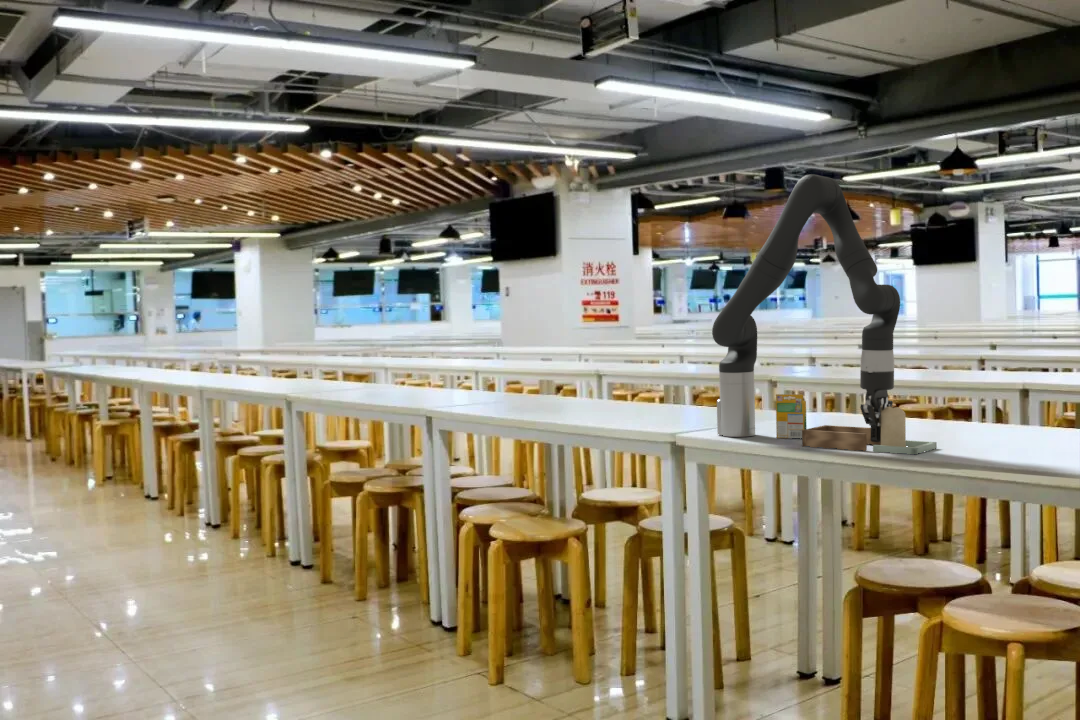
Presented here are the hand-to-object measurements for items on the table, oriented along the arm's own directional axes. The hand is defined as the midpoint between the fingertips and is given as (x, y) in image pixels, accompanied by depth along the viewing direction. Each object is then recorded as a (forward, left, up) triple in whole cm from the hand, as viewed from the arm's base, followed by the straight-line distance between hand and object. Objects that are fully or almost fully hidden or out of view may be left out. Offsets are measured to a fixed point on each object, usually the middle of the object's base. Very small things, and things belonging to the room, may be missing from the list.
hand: (876, 441), depth 229 cm
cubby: (-8, 0, -2) cm, 8 cm away
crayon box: (-26, +7, -2) cm, 27 cm away
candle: (+4, 0, -2) cm, 4 cm away
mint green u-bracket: (+7, 0, -2) cm, 7 cm away
